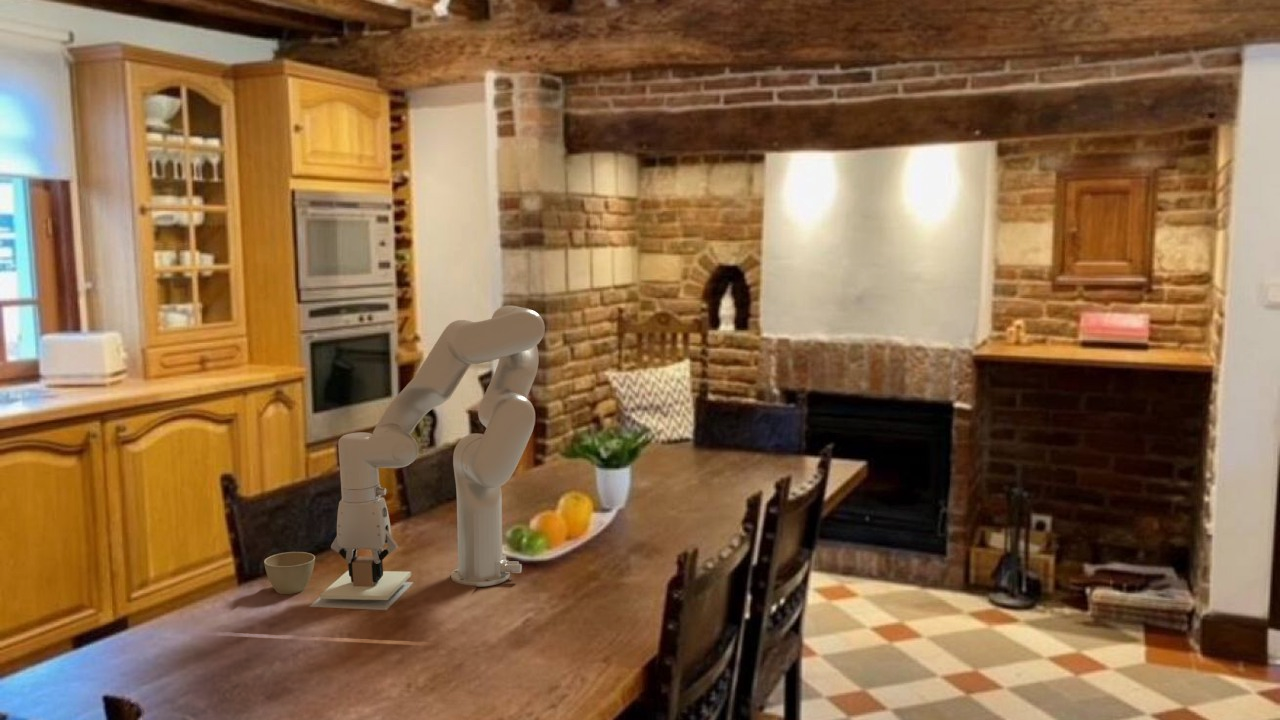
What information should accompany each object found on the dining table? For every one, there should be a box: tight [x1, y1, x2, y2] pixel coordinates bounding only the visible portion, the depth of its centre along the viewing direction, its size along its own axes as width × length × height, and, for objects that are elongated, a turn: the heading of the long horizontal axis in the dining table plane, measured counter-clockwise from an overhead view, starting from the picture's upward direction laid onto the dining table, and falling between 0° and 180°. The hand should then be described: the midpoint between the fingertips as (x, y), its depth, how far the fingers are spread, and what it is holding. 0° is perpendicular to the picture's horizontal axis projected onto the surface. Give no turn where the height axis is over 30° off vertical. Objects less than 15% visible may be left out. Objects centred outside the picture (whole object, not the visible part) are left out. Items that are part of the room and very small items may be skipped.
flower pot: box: [263, 551, 316, 595], centre depth 211 cm, size 10×10×7 cm
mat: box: [308, 581, 414, 611], centre depth 209 cm, size 16×16×1 cm
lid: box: [319, 555, 412, 600], centre depth 208 cm, size 14×14×6 cm
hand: (366, 579), depth 209 cm, fingers closed on lid, 4 cm apart
